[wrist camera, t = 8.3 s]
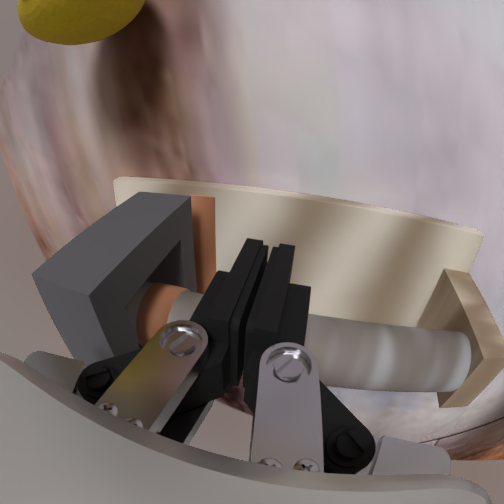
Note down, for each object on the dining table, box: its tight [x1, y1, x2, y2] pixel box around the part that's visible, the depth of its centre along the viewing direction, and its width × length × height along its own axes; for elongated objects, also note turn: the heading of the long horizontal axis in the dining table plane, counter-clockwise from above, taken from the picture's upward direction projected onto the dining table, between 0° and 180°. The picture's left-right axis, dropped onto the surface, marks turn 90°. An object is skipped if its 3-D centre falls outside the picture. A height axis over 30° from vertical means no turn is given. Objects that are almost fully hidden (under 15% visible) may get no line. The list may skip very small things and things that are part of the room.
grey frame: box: [32, 191, 197, 365], centre depth 13 cm, size 3×9×8 cm, turn 176°
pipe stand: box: [113, 177, 504, 408], centre depth 14 cm, size 22×9×8 cm, turn 86°
